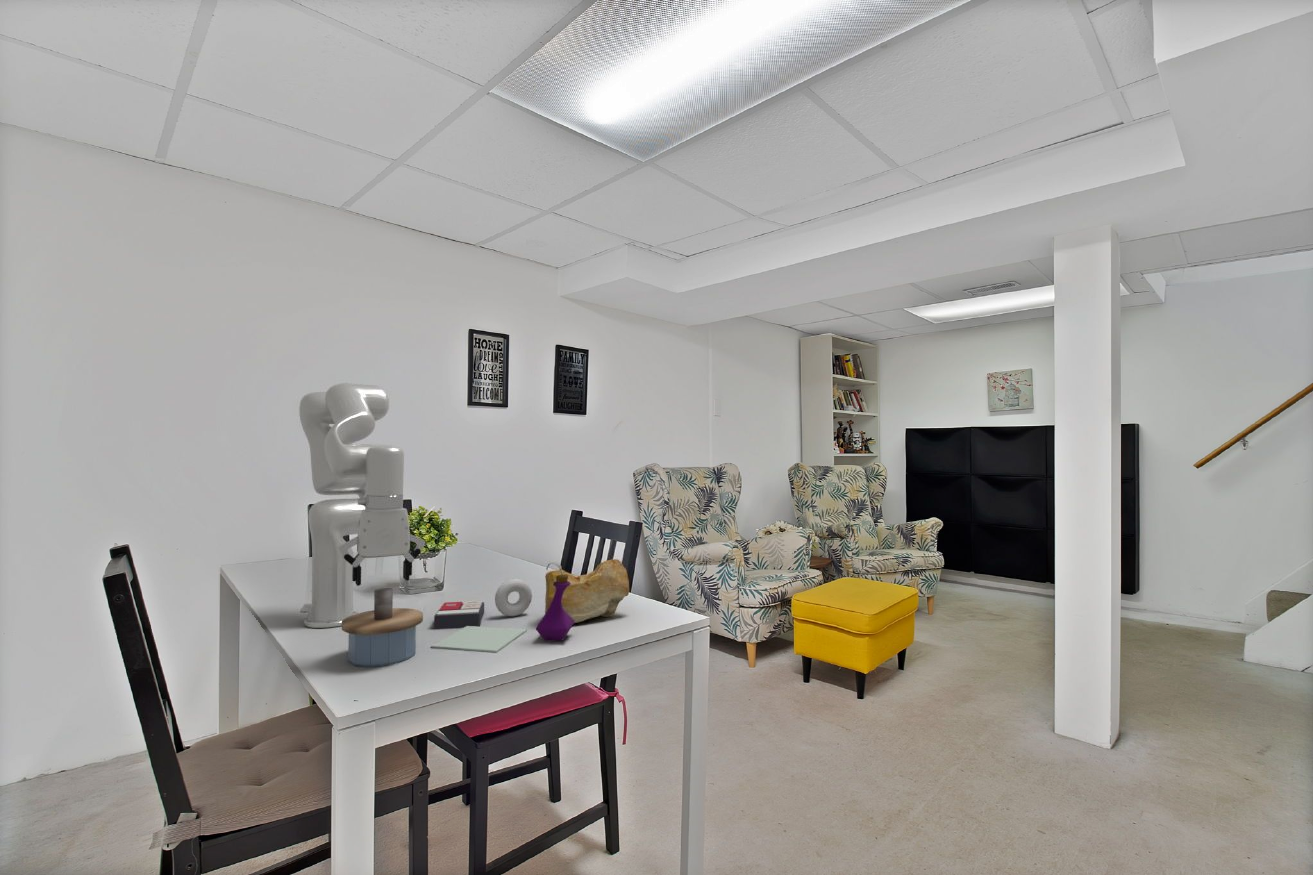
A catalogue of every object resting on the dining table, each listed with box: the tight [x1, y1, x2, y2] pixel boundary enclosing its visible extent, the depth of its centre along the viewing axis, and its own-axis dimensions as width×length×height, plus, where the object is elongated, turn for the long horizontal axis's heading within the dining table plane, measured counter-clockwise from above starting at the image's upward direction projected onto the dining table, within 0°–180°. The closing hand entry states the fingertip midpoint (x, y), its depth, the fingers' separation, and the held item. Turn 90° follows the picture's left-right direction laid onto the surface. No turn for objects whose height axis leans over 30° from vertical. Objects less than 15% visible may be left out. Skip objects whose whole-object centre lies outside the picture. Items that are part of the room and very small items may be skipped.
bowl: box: [347, 626, 417, 668], centre depth 130 cm, size 13×13×7 cm
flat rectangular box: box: [433, 600, 485, 630], centre depth 158 cm, size 11×4×15 cm
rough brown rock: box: [544, 558, 630, 624], centre depth 162 cm, size 23×17×15 cm
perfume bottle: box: [535, 561, 575, 642], centre depth 143 cm, size 8×8×18 cm
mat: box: [430, 626, 528, 653], centre depth 142 cm, size 16×16×1 cm
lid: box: [341, 587, 424, 635], centre depth 130 cm, size 16×16×7 cm
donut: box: [494, 578, 533, 617], centre depth 162 cm, size 10×3×10 cm, turn 119°
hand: (382, 581), depth 131 cm, fingers open, 9 cm apart
